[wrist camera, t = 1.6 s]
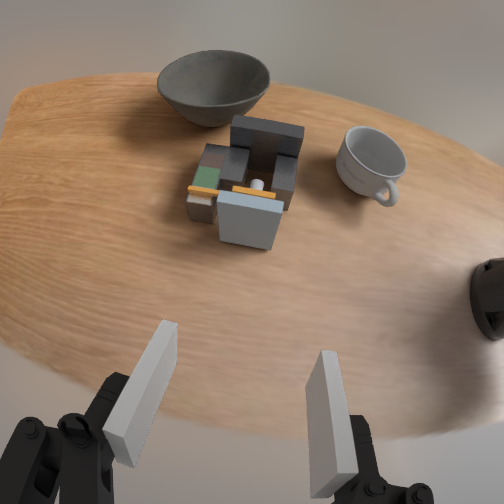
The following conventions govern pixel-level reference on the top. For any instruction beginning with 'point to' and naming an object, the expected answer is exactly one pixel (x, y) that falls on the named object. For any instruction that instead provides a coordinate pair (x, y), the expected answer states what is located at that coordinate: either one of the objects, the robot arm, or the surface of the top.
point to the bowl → (213, 85)
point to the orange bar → (235, 189)
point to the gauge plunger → (248, 218)
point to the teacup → (371, 164)
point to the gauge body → (247, 163)
